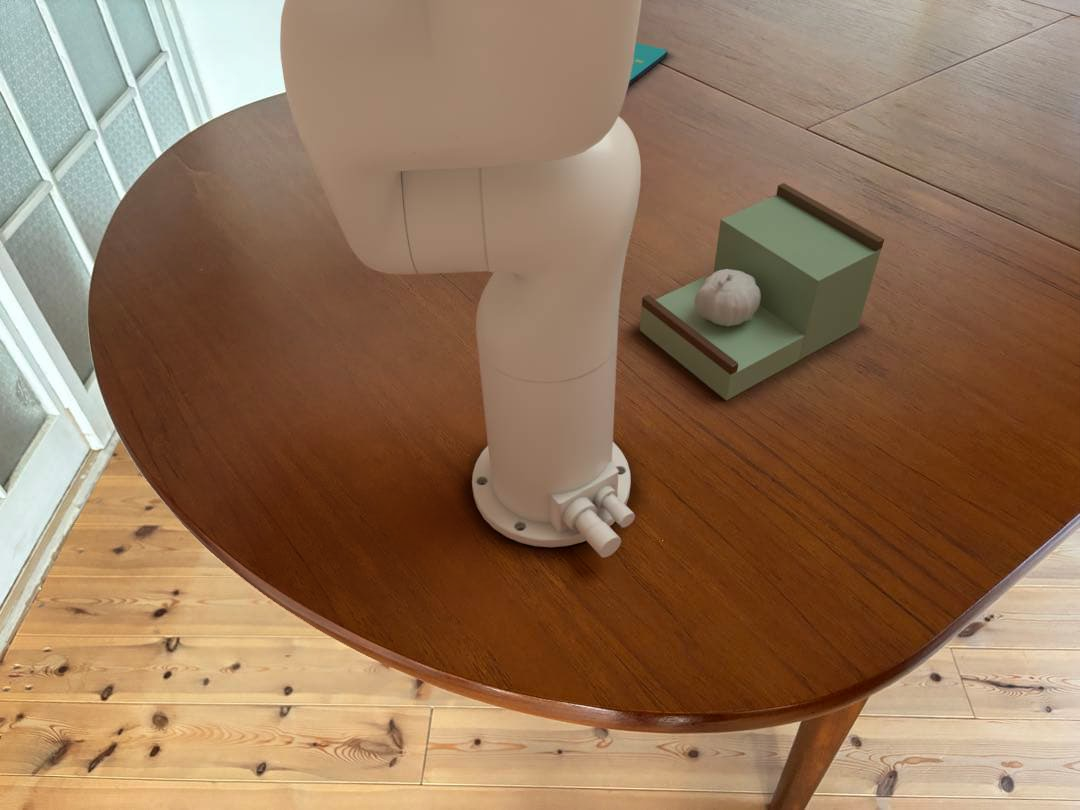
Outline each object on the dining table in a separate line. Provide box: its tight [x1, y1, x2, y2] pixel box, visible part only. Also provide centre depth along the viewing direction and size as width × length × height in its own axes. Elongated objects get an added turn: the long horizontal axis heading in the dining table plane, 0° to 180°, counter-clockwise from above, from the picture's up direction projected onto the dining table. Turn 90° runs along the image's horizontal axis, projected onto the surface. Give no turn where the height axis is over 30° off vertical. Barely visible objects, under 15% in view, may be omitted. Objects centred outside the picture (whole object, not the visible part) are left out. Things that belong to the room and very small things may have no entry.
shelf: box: [639, 182, 885, 401], centre depth 79 cm, size 12×17×10 cm
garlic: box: [694, 269, 761, 327], centre depth 77 cm, size 6×5×5 cm
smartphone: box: [628, 42, 669, 87], centre depth 125 cm, size 7×1×15 cm
